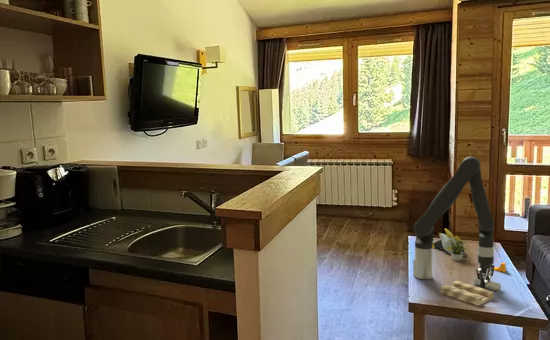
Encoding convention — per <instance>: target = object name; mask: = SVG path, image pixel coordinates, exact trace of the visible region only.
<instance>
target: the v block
mask: <svg viewBox="0 0 550 340" xmlns="http://www.w3.org/2000/svg"><path fill="white" fill-rule="evenodd" d="M440 293H441V294H444V295H446V296H449V297H451V298H455V299H457V300H460V301H462V302H466V303H469V304H471V305H475V306H481V305H483V304H485V303H486V302H489V301H491V300H493V299H494V293H495V291H493V290H489V289H486V288H483V287H480V286H477V285H473V284H469V283H466V282H462V281H459V280H455V281H453V282H452V285H451V286H450V285H446V284H444V285H442V286H440Z"/></svg>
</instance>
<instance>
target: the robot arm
mask: <svg viewBox="0 0 550 340" xmlns="http://www.w3.org/2000/svg"><path fill="white" fill-rule="evenodd" d="M481 165H482V164H481V162H480V160H479V158H477V157H476V156H473V155H469V156H467V157H465V158H463V159H462V161H461V163H460V165H458V168H457V169H456V172H454V174H453V175H452V177H451V178H450V179H449V180H448V181H447V182H446V183H445V184H444V185H443V186H442V187H441V189H440V190H439V191H438V193H437V194H436V196H435V197H434V198H433V200H432V201H431V203H430V205H429V206H428V208H427V209H426V211H425V212H424V214H423V215H422V216H421V217H420V218H419V219H418V220H417V221H416V222H414V225H413V231H414V234H415V236H416V237H415V242H414V259H413V261H412V263H413V266H412V267H413V268H412V269H413V271H412V272H413V274H412V275H413V276H414V278H417V279H419V280H431V279H432V278H433V247H432V245H433V243H434V234H435V233H434V229H435V228H434V226H435V224H436V223H437V222H438V221H439V219H440V218H441V217H443V215H444V214H445V213H447V211H448V210H449V209H450V208H451V207H452V205H453V204H454V203H455V201H456V200H457V199H458V198H459V196H460V195H461V193H462V192H463V189H464V188H465V186H466V184H467V183H469V187H470V193H471V200H472V205H473V208H474V210H475V213H476V216H477V220H478V246H477V247H478V248H477V263H478V264H479V268H476V270H475V271H476V277H477V278H478V279H479V280H480V286H481V287H480V286H479V287H480V288H483V289H485V288H484V287H485V280H488V281H491V279H492V277H493V276H494V273H495V271H494V267H496V266H495V264H494V263H495V249H494V235H493V234H494V232H493V231H494V228H495V222H494V218H493V215H492V213H491V209H490V204H489V200H488V197H487V194H486V190H485V187H484V183H483V179H482V171H481Z"/></svg>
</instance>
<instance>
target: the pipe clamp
mask: <svg viewBox="0 0 550 340" xmlns="http://www.w3.org/2000/svg"><path fill="white" fill-rule="evenodd" d="M506 263H507V262H501V263H500V266H497V267H496V266H495V267H494V272H500V273H501V272H502V273H505V272H506V271H507V267H506V266H507V265H506Z"/></svg>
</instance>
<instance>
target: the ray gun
mask: <svg viewBox="0 0 550 340" xmlns="http://www.w3.org/2000/svg"><path fill="white" fill-rule="evenodd" d="M443 231H444V232H445V233H441V232H438V236H439V238H440V239H439V240H436V241H435V242H433V245H432V249H436V248H437V249H436V250H440V249H441V250H442V251H446V252H447V253H448V254H450V255H451V252H453V250H452V249H451V248H447V247H452V245H451V244H452V243H451V241H450V240H449V239H451V240H452V241H453V243H454V242H455V245H456V240H457V241H458V239H459V236H457V235H455V236H454V234H453V233H452V232H451V230H449V229H447V228H444V230H443ZM455 238H456V239H455ZM448 241H449V242H450V243H451V244H450V243H449V242H448ZM463 242H464V240H462V239H460V243H463ZM455 245H454V246H455ZM460 245H461V244H460ZM460 245H459V246H460ZM460 252H462V253H463V257H466V256H467V255H466V251H465V249H462V250H461V251H460Z"/></svg>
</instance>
